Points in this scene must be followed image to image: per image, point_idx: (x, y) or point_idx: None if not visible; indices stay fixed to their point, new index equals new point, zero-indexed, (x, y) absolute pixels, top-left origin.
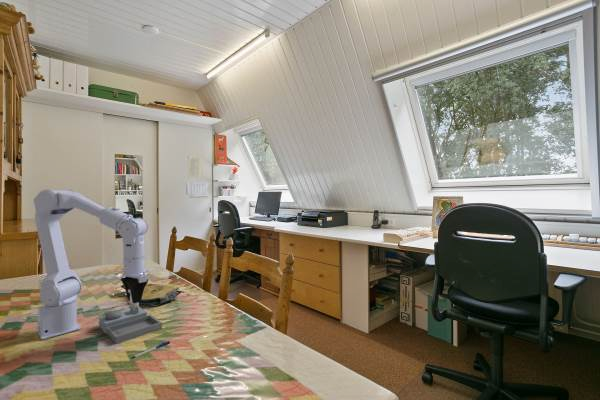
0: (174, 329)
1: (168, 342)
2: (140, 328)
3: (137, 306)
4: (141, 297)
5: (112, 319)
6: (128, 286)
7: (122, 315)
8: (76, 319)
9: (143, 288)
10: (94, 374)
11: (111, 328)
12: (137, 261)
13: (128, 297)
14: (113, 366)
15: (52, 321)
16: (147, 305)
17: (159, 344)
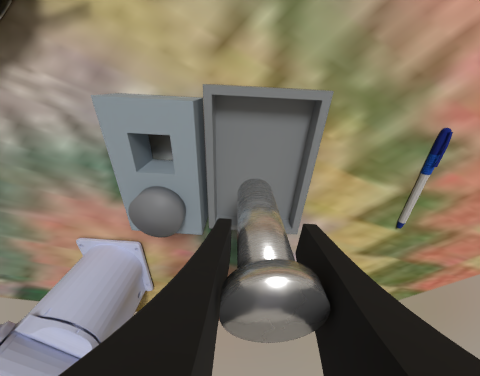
0: (380, 53)
1: (449, 135)
2: (305, 172)
3: (276, 207)
4: (332, 243)
5: (184, 216)
6: (213, 347)
7: (163, 182)
8: (107, 259)
9: (404, 315)
10: (375, 275)
11: (215, 215)
12: None
13: (228, 264)
14: (385, 253)
15: (126, 308)
16: (2, 1)
17: (436, 165)
